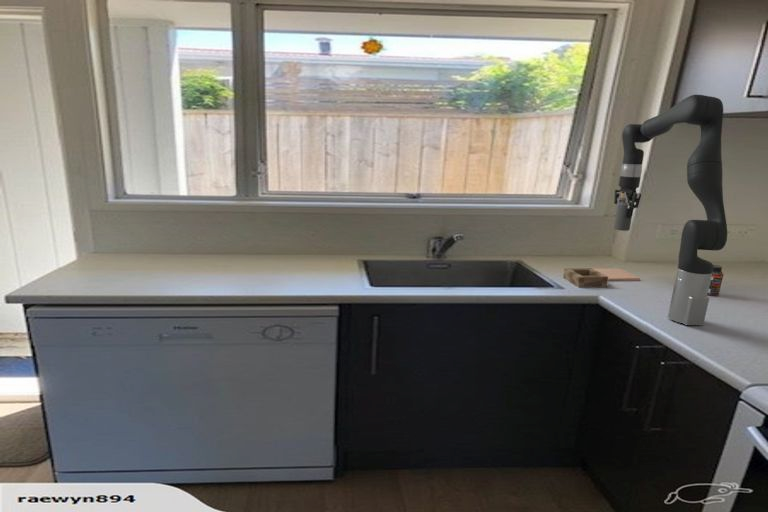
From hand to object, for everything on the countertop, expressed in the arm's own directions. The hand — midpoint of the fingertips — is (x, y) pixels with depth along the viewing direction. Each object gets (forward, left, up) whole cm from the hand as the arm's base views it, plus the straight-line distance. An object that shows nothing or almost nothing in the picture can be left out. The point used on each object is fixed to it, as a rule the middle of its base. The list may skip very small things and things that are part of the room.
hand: (623, 216), depth 189 cm
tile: (0, 0, -26) cm, 26 cm away
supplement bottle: (-24, -24, -26) cm, 43 cm away
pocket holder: (-8, +18, -26) cm, 33 cm away
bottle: (0, 0, -6) cm, 6 cm away
